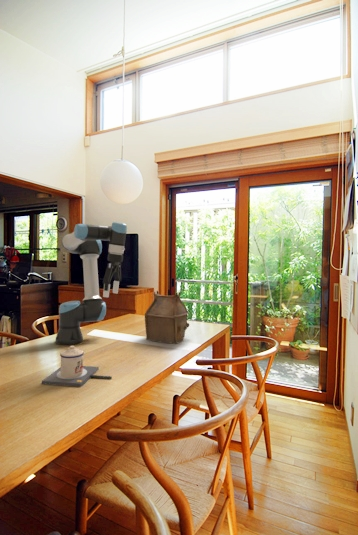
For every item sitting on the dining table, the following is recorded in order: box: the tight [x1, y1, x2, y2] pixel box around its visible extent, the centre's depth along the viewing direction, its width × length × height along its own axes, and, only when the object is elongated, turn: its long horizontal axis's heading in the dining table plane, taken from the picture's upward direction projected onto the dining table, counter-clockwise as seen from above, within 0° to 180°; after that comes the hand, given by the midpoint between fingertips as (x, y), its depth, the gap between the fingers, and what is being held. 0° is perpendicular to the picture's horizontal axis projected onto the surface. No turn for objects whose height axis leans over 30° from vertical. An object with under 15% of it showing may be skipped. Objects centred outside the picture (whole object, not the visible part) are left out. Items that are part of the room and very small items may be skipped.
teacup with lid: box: [59, 345, 84, 378], centre depth 124 cm, size 12×9×12 cm
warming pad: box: [41, 365, 113, 387], centre depth 123 cm, size 25×18×2 cm
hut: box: [144, 290, 190, 345], centre depth 185 cm, size 23×27×30 cm
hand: (110, 295), depth 151 cm, fingers open, 13 cm apart
